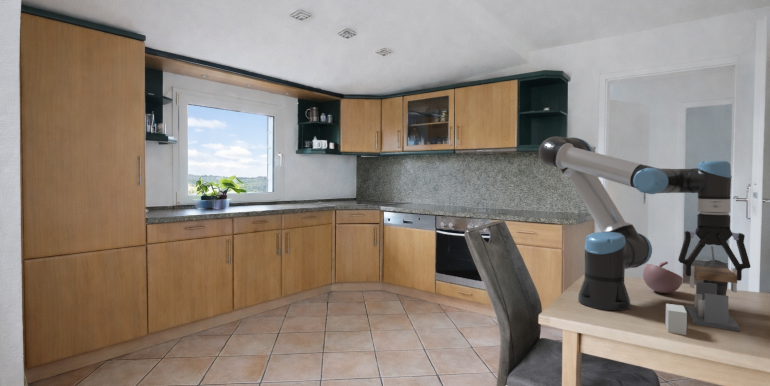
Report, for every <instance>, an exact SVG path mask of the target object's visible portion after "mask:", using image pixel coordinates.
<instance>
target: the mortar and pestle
mask: <svg viewBox="0 0 770 386" xmlns="http://www.w3.org/2000/svg"><path fill="white" fill-rule="evenodd" d="M668 264H669V262H668V261H663V262H660V263H659V265H655V264H653V263H650V264H646V265H645V267H644V269H643V272H642V277H643V281H644V283H645V284H646V286H647V287H649V289H651V290H653V291H654V292H656V293H659V294H670V293H673V292H675V291H677V290H679V288H680V287H681V286H682V284H683V282H684V278H683V277H682V276H681V275H680V274H677V273H675V272H673V271H671V270H669V269H667V268H664V266H666V265H668Z"/></svg>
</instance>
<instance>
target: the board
mask: <svg viewBox="0 0 770 386" xmlns="http://www.w3.org/2000/svg"><path fill="white" fill-rule="evenodd" d="M694 279H696V280H701V281H703V280H709V281H720V282H728V283H730V284H731V283H737V284H738V281H737V275H735V274H734V273H733V272H732V271H731V270H730V268H729V269H726V268H714V267H703V266H700V265H694Z"/></svg>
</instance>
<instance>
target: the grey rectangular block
mask: <svg viewBox="0 0 770 386" xmlns="http://www.w3.org/2000/svg"><path fill="white" fill-rule="evenodd" d="M687 319H688V312H687V310H686V307H685V306H684V305H681V304H673V303H672V304H671V303H665V323H664V324H665V327H666V330H667V333H670V334H675V335H676V334H678V335H682V336H686V335H687V322H688V321H687Z"/></svg>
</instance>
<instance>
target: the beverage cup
mask: <svg viewBox="0 0 770 386" xmlns="http://www.w3.org/2000/svg"><path fill="white" fill-rule="evenodd" d="M710 246H711V247H710V248H711V257H712V258H711V260H708V261H706V262H705V263H704V264H703V265H702V267H714V268H726V269H729V270H730V268H729V267H728V265H727V264H726V263H724V262H723V261H721V260H717V259H715V252H714V246H713V245H710ZM702 281H703V282H704V283H714V284H717V295H725V296H727V290H728V285H729V282H720V281H709V280H702Z"/></svg>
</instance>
